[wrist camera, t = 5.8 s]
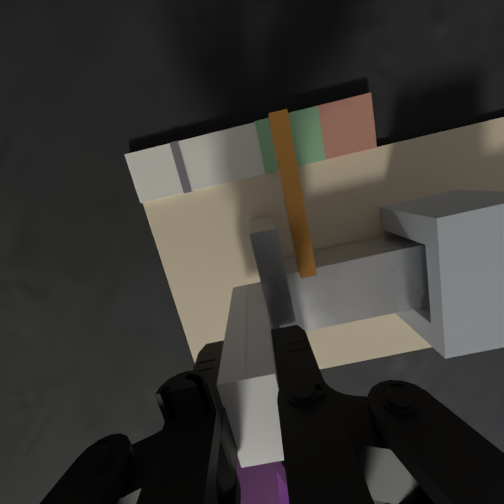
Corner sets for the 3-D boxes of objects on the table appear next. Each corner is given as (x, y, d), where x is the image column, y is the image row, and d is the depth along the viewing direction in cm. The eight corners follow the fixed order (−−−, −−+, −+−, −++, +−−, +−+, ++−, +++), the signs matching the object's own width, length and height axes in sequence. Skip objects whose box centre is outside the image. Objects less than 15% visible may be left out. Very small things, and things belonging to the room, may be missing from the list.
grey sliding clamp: (231, 137, 13) (221, 115, 9) (514, 68, 13) (658, 6, 8) (280, 349, 16) (291, 412, 12) (512, 301, 16) (617, 349, 11)
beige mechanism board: (129, 155, 14) (68, 141, 9) (534, 55, 13) (694, -17, 8) (205, 388, 17) (188, 464, 13) (527, 324, 16) (637, 381, 12)
